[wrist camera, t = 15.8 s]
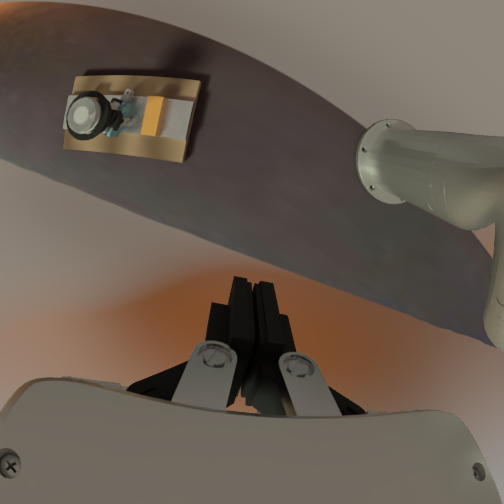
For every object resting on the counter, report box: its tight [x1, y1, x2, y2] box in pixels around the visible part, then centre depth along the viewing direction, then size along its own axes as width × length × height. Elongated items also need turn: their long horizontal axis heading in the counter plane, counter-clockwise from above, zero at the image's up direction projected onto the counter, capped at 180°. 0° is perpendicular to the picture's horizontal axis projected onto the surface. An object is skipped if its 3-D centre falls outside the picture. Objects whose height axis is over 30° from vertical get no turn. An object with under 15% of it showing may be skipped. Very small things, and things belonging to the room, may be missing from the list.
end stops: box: [94, 96, 167, 136], centre depth 29 cm, size 12×5×2 cm, turn 77°
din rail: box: [63, 95, 195, 140], centre depth 30 cm, size 19×5×1 cm, turn 77°
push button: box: [66, 89, 134, 141], centre depth 25 cm, size 7×5×10 cm
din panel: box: [63, 75, 202, 163], centre depth 31 cm, size 19×11×2 cm, turn 77°
